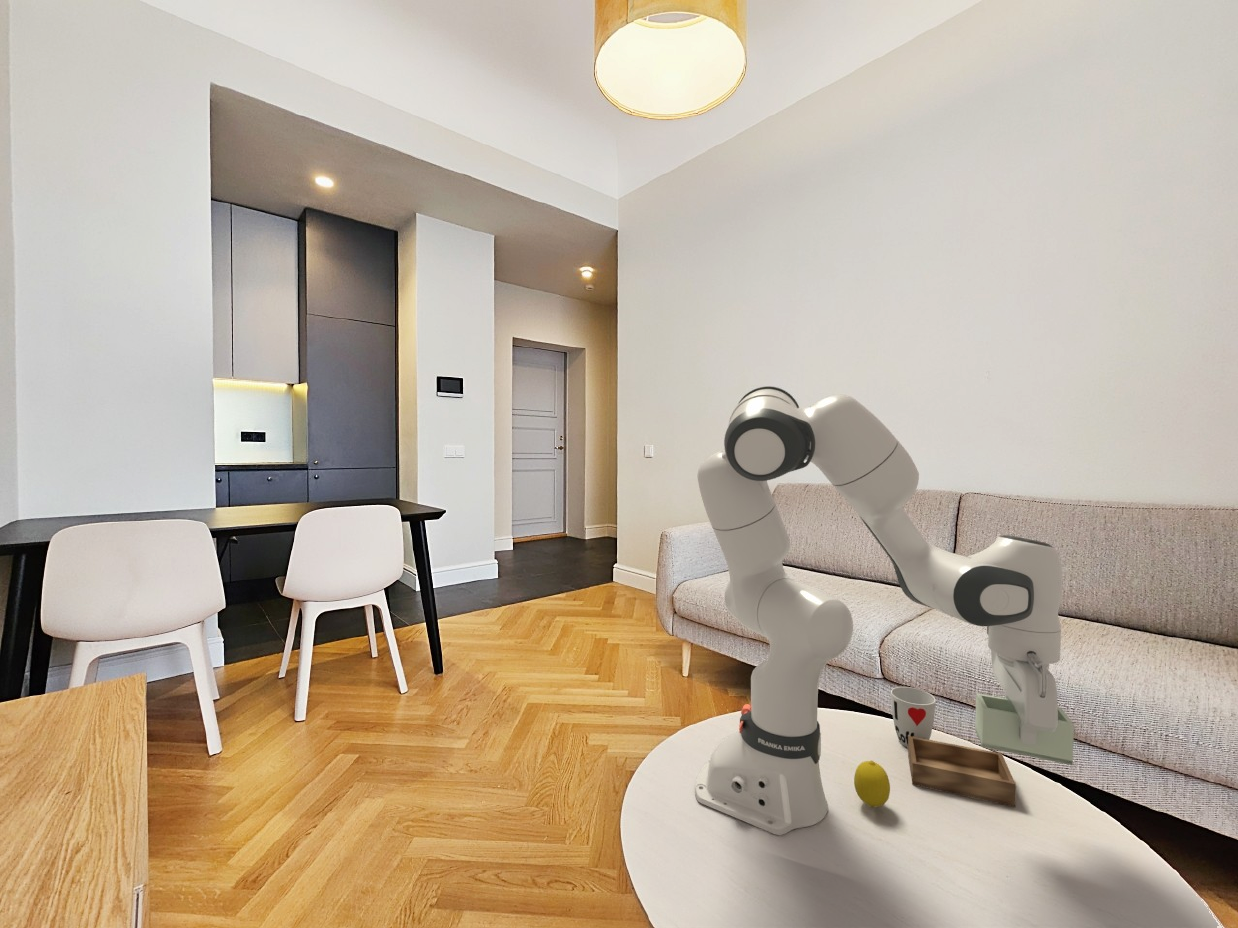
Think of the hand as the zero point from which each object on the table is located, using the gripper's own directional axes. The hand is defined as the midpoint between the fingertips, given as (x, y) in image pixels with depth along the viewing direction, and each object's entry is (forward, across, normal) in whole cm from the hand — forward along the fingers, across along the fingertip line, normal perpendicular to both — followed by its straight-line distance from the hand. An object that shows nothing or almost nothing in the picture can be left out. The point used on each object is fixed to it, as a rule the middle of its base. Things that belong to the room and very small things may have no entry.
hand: (1020, 731), depth 82 cm
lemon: (+18, 0, +20) cm, 27 cm away
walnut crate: (+17, +15, +6) cm, 24 cm away
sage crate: (+2, 0, 0) cm, 2 cm away
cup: (+18, +25, +12) cm, 33 cm away
